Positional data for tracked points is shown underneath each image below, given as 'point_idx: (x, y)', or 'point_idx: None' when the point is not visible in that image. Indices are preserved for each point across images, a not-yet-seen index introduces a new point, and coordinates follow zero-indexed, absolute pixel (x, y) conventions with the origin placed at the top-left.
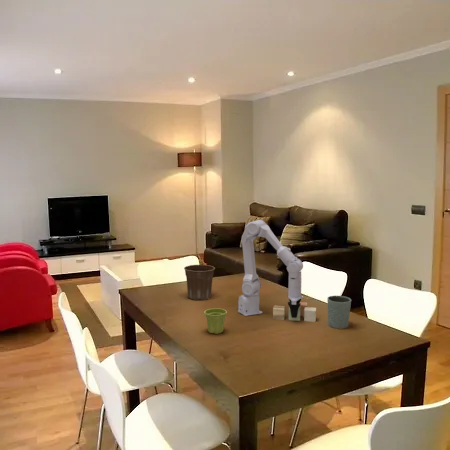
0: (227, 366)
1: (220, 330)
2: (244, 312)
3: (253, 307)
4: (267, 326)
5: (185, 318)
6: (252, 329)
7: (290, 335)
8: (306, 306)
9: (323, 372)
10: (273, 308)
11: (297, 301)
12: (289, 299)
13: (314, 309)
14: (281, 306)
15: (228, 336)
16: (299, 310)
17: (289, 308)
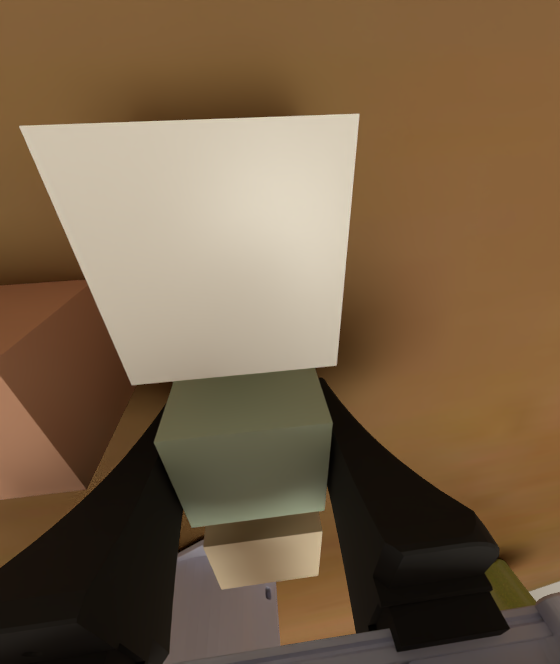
0: None
1: (512, 572)
2: (275, 589)
3: (245, 609)
4: (440, 476)
5: (343, 629)
6: (476, 508)
7: None
8: (11, 360)
9: None
10: (309, 575)
11: (135, 568)
12: (165, 653)
13: (218, 166)
14: (229, 559)
15: (540, 538)
16: (330, 420)
17: (288, 511)
